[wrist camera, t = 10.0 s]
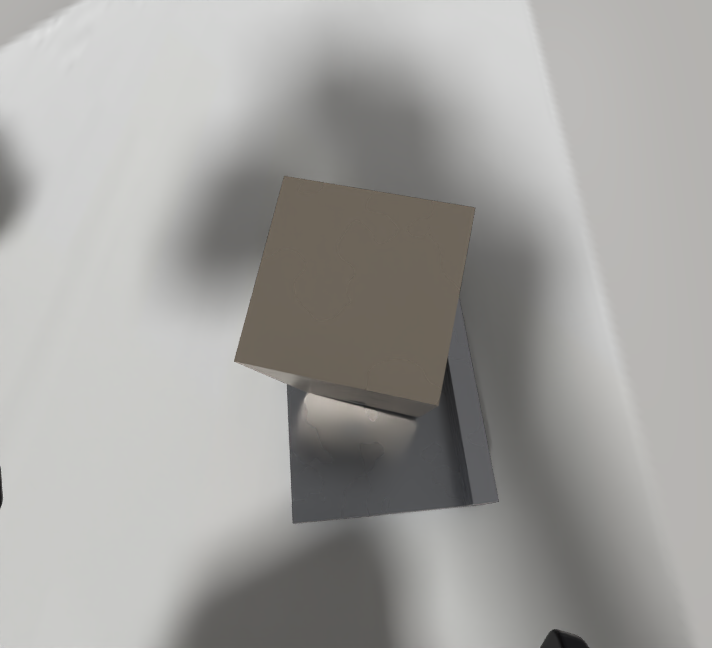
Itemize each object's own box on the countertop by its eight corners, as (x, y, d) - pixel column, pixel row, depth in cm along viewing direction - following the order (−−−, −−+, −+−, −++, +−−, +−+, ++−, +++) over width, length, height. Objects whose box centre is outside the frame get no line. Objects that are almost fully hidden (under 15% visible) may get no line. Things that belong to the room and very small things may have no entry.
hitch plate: (481, 504, 21) (498, 501, 19) (294, 523, 21) (290, 522, 18) (431, 229, 27) (440, 202, 24) (282, 237, 26) (277, 210, 24)
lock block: (418, 418, 21) (438, 407, 11) (306, 393, 22) (233, 363, 12) (440, 305, 22) (475, 205, 12) (332, 284, 23) (284, 174, 13)
